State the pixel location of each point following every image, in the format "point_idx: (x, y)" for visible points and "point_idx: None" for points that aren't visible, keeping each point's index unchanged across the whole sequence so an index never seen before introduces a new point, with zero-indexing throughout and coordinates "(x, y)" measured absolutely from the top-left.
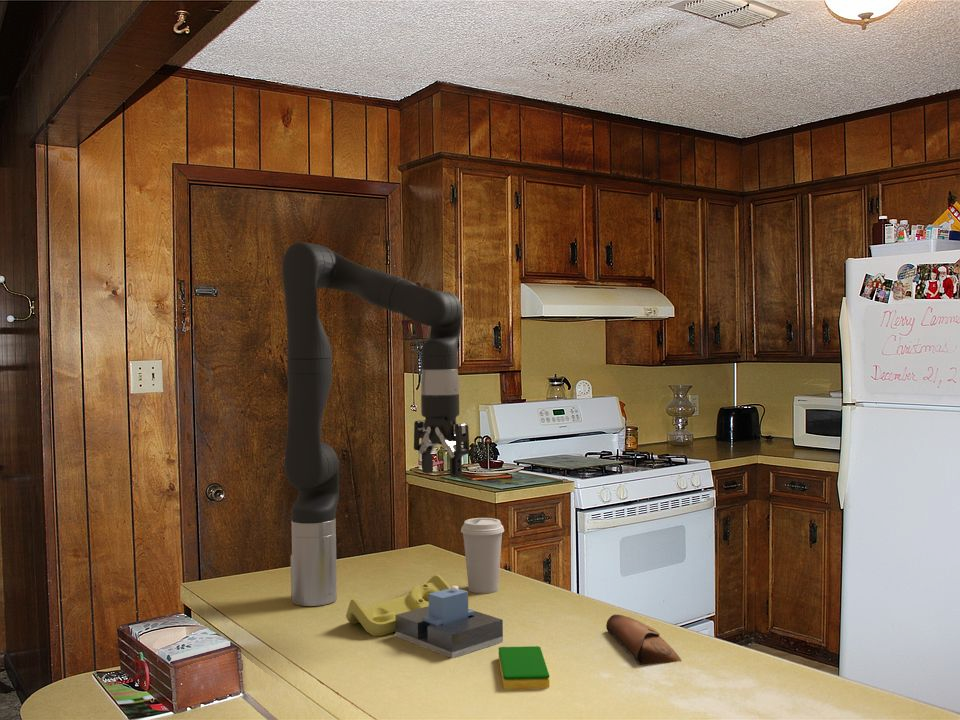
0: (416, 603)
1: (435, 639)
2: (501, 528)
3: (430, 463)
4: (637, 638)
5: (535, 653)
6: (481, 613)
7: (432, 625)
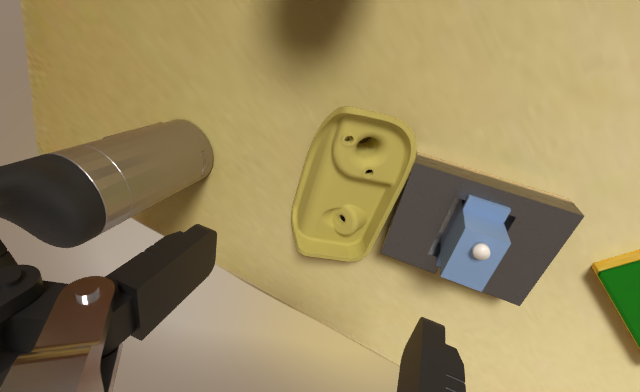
0: (366, 179)
1: None
2: None
3: (182, 266)
4: None
5: None
6: (521, 198)
7: None
